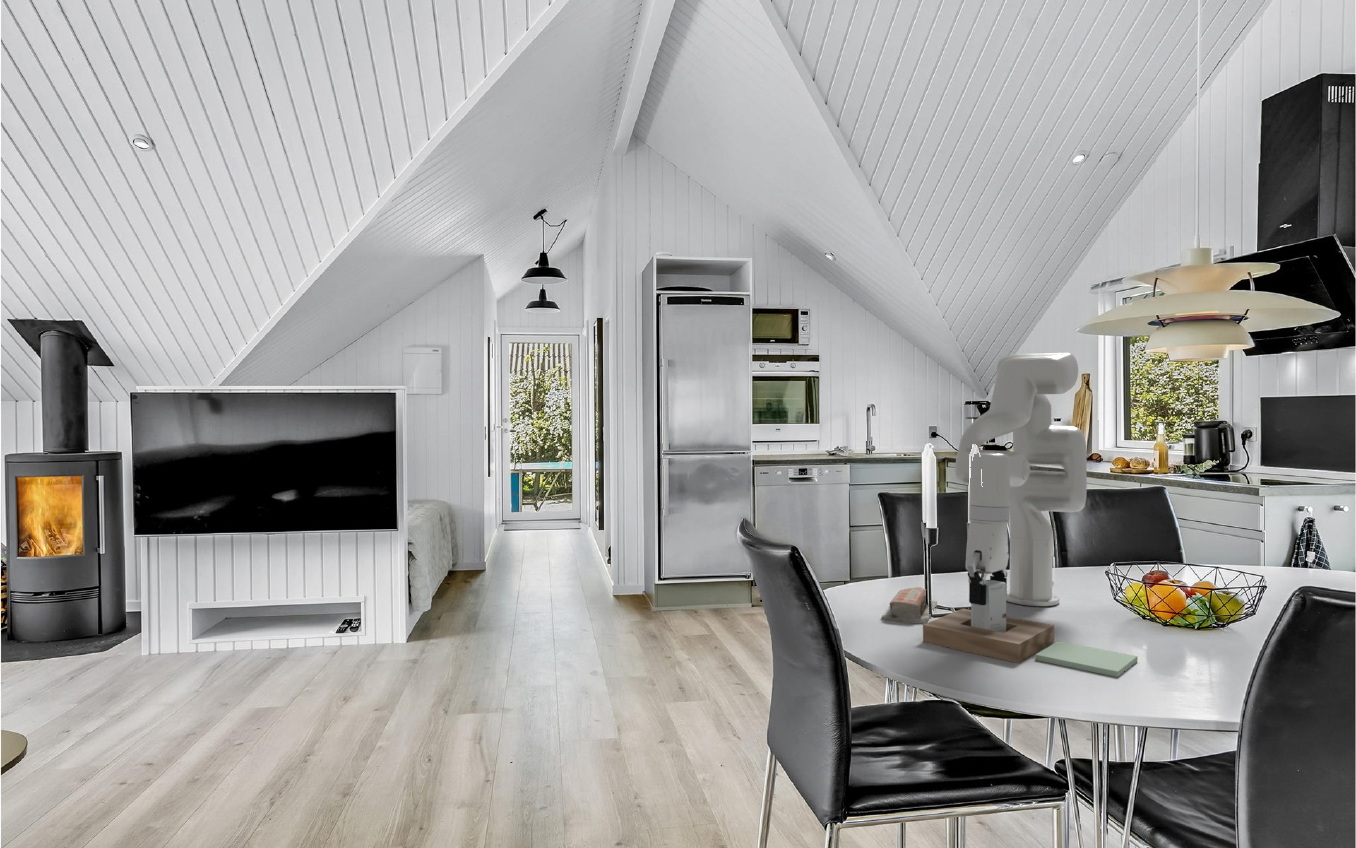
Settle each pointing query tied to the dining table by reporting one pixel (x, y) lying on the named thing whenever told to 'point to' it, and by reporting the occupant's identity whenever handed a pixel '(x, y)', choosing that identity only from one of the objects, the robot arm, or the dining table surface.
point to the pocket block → (989, 636)
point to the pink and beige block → (909, 606)
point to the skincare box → (991, 608)
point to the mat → (1087, 658)
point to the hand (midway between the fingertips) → (988, 600)
